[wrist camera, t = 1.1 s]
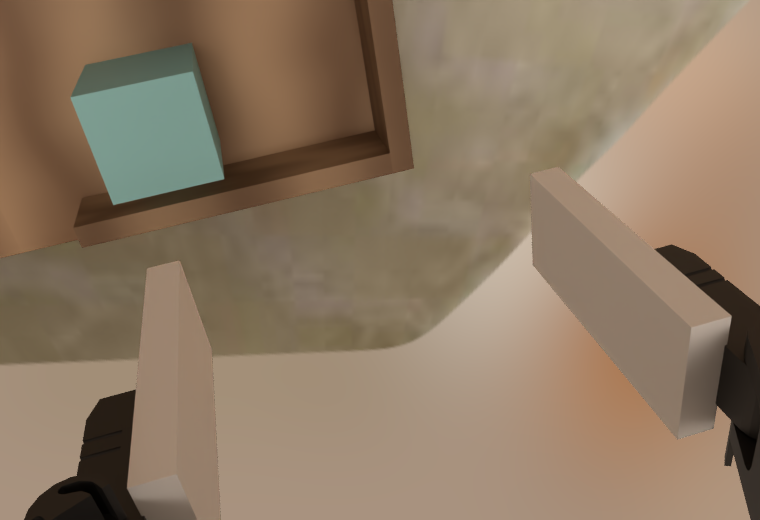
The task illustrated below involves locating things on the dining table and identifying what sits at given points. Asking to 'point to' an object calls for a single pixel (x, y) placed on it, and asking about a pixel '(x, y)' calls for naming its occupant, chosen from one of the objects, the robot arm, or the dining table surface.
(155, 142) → the teal block
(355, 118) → the tray
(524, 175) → the dining table surface
